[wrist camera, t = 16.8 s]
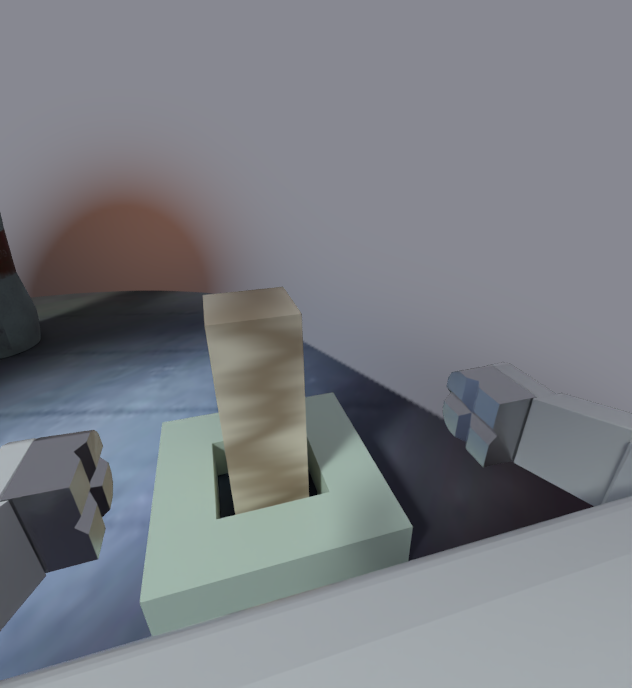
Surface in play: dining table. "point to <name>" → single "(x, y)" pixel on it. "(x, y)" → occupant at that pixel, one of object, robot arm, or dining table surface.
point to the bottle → (15, 307)
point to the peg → (259, 394)
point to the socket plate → (263, 524)
